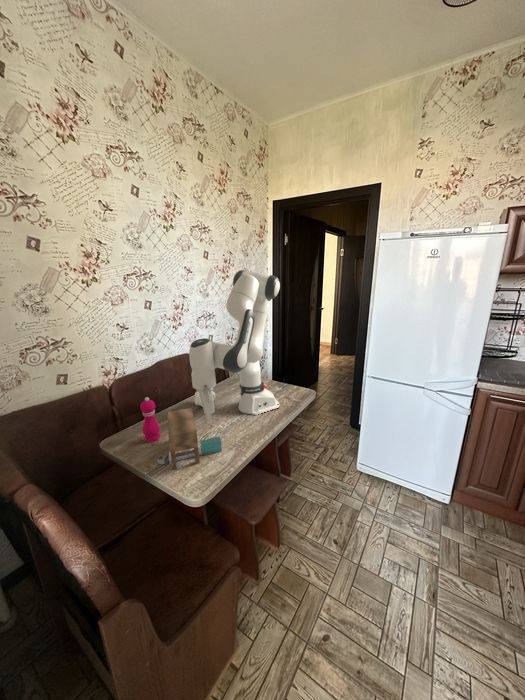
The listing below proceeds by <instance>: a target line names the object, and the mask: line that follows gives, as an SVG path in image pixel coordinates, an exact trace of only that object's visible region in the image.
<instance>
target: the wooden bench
mask: <svg viewBox="0 0 525 700" xmlns="http://www.w3.org/2000/svg"><path fill="white" fill-rule="evenodd" d="M167 433H168V434H167V437H168V445H169V452H171V460H172V465H171V467H172V470H176V469H177V468H178V466H177V461H176V456H175V454H176V453H179V452H181V451H182V452H184V451H189V450H194V453H195V457H194V461H195V464H200V463H201V461H200V456H199V451H198V449H199V443H198V433H197V427H196V423H195V417H194V412H193V408H192V407H189V408H188V407H187V408H184V409H183V408H182V409H178V410H171V411H167Z"/></svg>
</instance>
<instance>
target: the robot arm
mask: <svg viewBox="0 0 525 700" xmlns="http://www.w3.org/2000/svg"><path fill="white" fill-rule="evenodd" d="M280 288H281V282H280V279H279V278H278V277H277V276H275V275H271V274H267V273H264V272H259V271H250V270H245V269H244V270H242V269H241V270H238V271H237V272H235V274H234V276H233V279H232V289H231V291H230V292H229V295H228V298H227V301H226V305H225V308H226V310H227V313H228V314H229V315H230V316H231V317H232V318H233V319H235V320H236V321H237V322H238V324H239V325H238V331H237V334H236V338H235V341H234V344H232V345H229V344H225V343H219V342H215V341H212V340H211V339H209V338H199V339H195V340H193V341H192V342H191V343H190V346H189V354H188V355H189V364H190V367H191V383H192V388H193V389H194V390H196V392H198V393H199V396H200V399H201V403H202V406H203V407H202V406H201V407H202V408H203V409H202V410H203V412H204V413H203V414H204V415H205V417H206V421H212V414H214V413H215V404H214V403H215V402H214V400H213V395H212V392H211V391H213V389H214V388H215V386H216V385H217V379H216V371H215V370H216V369H217V368H218V369H220V370H221V369H222V370H225V371H227V372H230V373H232V374H233V373H234V374H238V373H239V388H238V390H239V394H240V395H239V404H238V408H237V409H238V411H239V412H241V413H243V414H249V415H253V416H259V415H262V414H261V413H263V414H265V413H264V412H266V413H268V412H267V411H269V412H271V411H270V410H272V409H275V408H278V407H279V406H280V405H281V404H280V402H279V401H278V400H277V399H276V398H275V395H274V394H273V392H272V391H271V390H269V389H267V388H268V385H267V384H266V383H264V382H263V381H262V376H261V375H262V372H261V366H260V365H261V364H260V361H261V359H262V357H263V355H264V352H263V350H264V341H265V340H264V339H265V329H266V323H267V319H268V315H269V309H270V308H269V307H270V301H271V300H273V299H276V297H277V296H278V294H279V291H280ZM277 404H279V405H277ZM280 407H281V406H280ZM258 414H259V415H258Z"/></svg>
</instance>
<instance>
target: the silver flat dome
mask: <svg viewBox="0 0 525 700" xmlns="http://www.w3.org/2000/svg"><path fill="white" fill-rule="evenodd" d="M156 462H157V465H159V466H165V465H167V464H168V463H169V455H162V456H160V457H158V458H157V460H156Z"/></svg>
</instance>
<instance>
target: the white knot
mask: <svg viewBox="0 0 525 700" xmlns="http://www.w3.org/2000/svg"><path fill="white" fill-rule="evenodd" d="M211 392H212V395H213V401H214V400H215V398H216V393H215V392H214V391H213V390H212V391H211ZM194 404H195V405H196V406H201V407H202V408H203V406H202V403H201V399H200V396H199V393H198V392H197V391H195V393H194Z"/></svg>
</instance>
